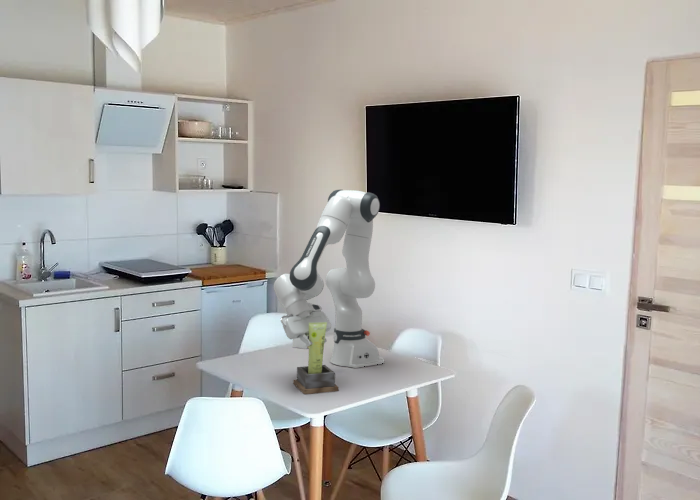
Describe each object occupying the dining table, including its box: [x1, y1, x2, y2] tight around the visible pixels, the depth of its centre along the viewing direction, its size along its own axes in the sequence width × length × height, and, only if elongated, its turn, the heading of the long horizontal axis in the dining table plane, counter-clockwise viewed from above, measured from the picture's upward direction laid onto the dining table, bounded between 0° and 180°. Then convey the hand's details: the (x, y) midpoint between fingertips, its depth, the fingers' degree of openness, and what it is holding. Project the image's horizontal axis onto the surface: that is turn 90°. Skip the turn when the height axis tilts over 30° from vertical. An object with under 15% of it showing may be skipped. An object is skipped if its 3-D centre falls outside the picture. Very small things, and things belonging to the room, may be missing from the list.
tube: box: [307, 322, 327, 374], centre depth 247 cm, size 6×5×20 cm
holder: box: [292, 364, 339, 395], centre depth 249 cm, size 13×13×6 cm
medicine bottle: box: [292, 336, 309, 350], centre depth 307 cm, size 7×7×12 cm
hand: (317, 343), depth 247 cm, fingers closed on tube, 6 cm apart
